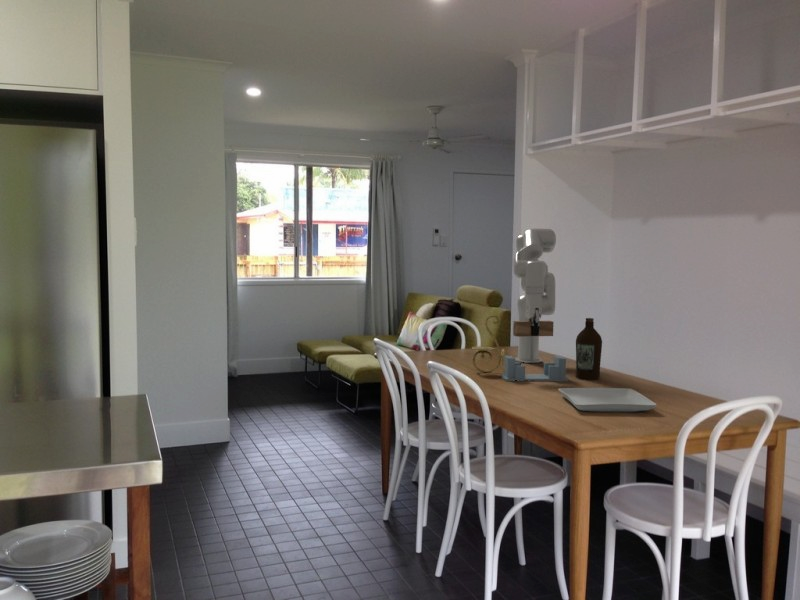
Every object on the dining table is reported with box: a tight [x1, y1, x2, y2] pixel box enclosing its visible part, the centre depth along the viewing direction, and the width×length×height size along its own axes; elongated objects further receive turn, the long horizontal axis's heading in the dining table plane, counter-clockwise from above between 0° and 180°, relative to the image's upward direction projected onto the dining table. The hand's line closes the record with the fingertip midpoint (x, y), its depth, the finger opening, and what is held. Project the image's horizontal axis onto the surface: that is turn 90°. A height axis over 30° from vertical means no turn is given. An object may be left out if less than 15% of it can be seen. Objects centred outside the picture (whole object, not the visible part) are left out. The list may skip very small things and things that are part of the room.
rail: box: [512, 320, 554, 337], centre depth 294 cm, size 4×16×6 cm, turn 102°
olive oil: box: [575, 317, 603, 381], centre depth 295 cm, size 11×11×25 cm
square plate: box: [557, 387, 658, 413], centre depth 246 cm, size 27×27×4 cm
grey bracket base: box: [500, 355, 570, 382], centre depth 292 cm, size 10×26×9 cm, turn 93°
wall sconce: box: [471, 314, 506, 373], centre depth 304 cm, size 14×10×25 cm
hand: (533, 334), depth 294 cm, fingers closed on rail, 4 cm apart
